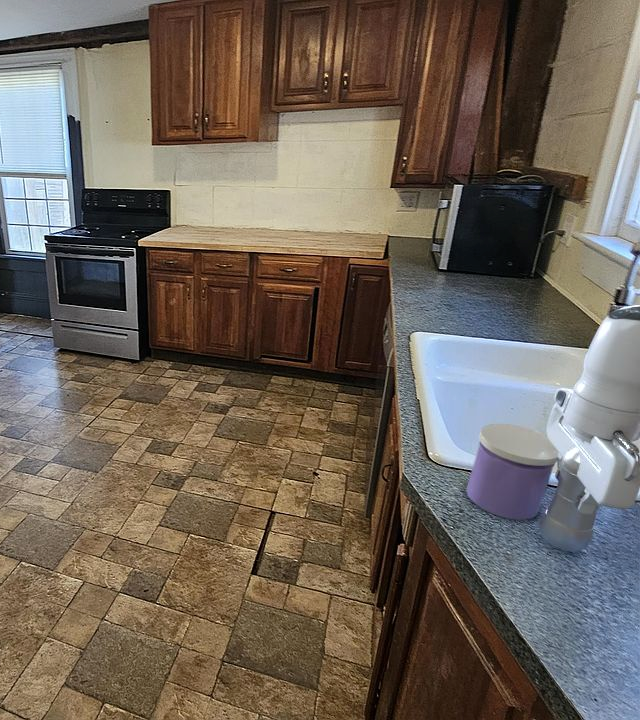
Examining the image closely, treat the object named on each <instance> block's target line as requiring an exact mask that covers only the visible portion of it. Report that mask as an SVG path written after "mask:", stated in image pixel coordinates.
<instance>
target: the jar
mask: <svg viewBox="0 0 640 720" xmlns="http://www.w3.org/2000/svg"><path fill="white" fill-rule="evenodd" d="M478 438H479V443H478V446H477V450H476V453H475V456H474V461H473V464H472V467H471V471H470V475H469V478H468V482H467V485H466V490H465V491H466V494H467V496H468V498H469V500H470V501H471V502H473V503H474V504H475V505H476V506H477V507H479V508H481V509H482V510H484V511H486V512H488V513H491V514H492V515H495V516H498V517H501V518H504V519H510V520H516V521H526V520H531V519H533V518H535V517H536V516H537V515H538V514H539V511H540V508H541V505H542V502H543V499H544V496H545V494H546V490H547V488H548V486H549V482H550V479H551V478H552V477H551V476H552V473H553V471H554V468H555V466H556V464H557V458H558V456H557V455H558V453H559V452H558V451H557V449H556V448H555V447H554V445H553V444H552V443H551V441H550V440H549V439H548V438H547V435H545V434H543V433H541V432H539V431H537V430H533V429H531V428H527V427H524V426H521V425H515V424H509V423H491V424H486V425H484V426H483V427H482V428H481V429H480V432H479V436H478Z"/></svg>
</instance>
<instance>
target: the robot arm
mask: <svg viewBox="0 0 640 720" xmlns="http://www.w3.org/2000/svg"><path fill="white" fill-rule="evenodd" d="M596 330H597V331H596V332H595V334H594V336H593V338H592V340H591V342H590V345H589V347H588V350H587V352H586V354H585V357H584V359H583V371H582V374H581V377H580V378H579V379H578V381H576V383H575V385H574V386H573V388H565V387H558V388H556V391H555V392H554V396H553V399H554V401H555V403H554V404H553V406H552V408H551V412H550V414H549V417H548V420H547V425H546V436H547V438H548V439H549V440H550V441H551V443H552V444H553V445H554V447H555V448H556V449H557V451H558V452H559V453H558V455H557V456H558V458H557V462H556V465H557V467H556V471H555V474H554V478H555V479H556V480H557V482H558V481H559V477H560V470H561V464H562V459H563V455H564V454H565V453H566V452H567V451H568V450H569V449H571V448H573V447H575V448H577V449H578V451H579V455H580V465H579V470H578V472H577V477H578V478H579V479H580V481H581V482H582V483H583V485H584V486H585V487H586V488H585V493H586V495H585V496H584V497H578V498H577V501H576V503H575V506H576V507H577V509H578V510H579V512H580V513H585V514H592V513H593V512H594V509H595V507H596V505H598V504H599V505H600V506H602V507H606V508H611V509H616V510H625V511H626V510H628V509H631V508H632V507H633V506H634V504H635V502H636V500H637V497H638V495H639V492H640V448H639V447H638V445H636V444H635V443H633V442H636V441H638V440H639V439H640V305H632V306H631V305H630V306H625V307H621V308H617V309H615V310H613V311H611V312H610V313H608V314H607V315H606V316H605V318H604V319H603V321H602V322H601V323H600V325H599V327H598V328H597V329H596ZM581 439H582V440H584V443H583V442H582V441H581Z"/></svg>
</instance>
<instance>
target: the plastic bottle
mask: <svg viewBox="0 0 640 720" xmlns="http://www.w3.org/2000/svg"><path fill="white" fill-rule="evenodd" d="M581 441H582V442H583V443H584V440H582V439H581ZM579 465H580V455H579V451H578V449H577V448H575V447H573V448H571V449H569V450H568V451H567V452H566V453H565V454H564V455H563V459H562V464H561V470H560V477H559V481H558V480H557V485H556V489H555V491H554V495H553V496H552V498H551V500H550V503H549V504H548V507H547V508H546V510H545V511H544V512H543V514H542V516H541V517H540V519H539V521H538V522H539V523H538V532H539V534H540V536H541V538H542V539H543V540H544V541H545V542H546V543H547V544H549V545H551V546H552V547H554V548H556V549H558V550H562V551H565V552H569V553H570V552H572V553H576V552H581V551H583V550H586V549H587V547H589V545H590V544H591V542H592V540H593V537H594V536H593V535H594V529H595V527H594V525H595V521H596V518H597V514H598V511H599V507H600V506H601V505H599V504H598V505H596V507H595V509H594V512H593V513H592V514H585V513H580V512H579V510H578V509H577V507H576V506H575V503H576V501H577V498H578V497H584V496H585V495H586V493H585V488H586V487H585V486H584V485H583V483H582V482H581V481H580V479H579V478H578V477H577V472H578V470H579Z"/></svg>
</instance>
